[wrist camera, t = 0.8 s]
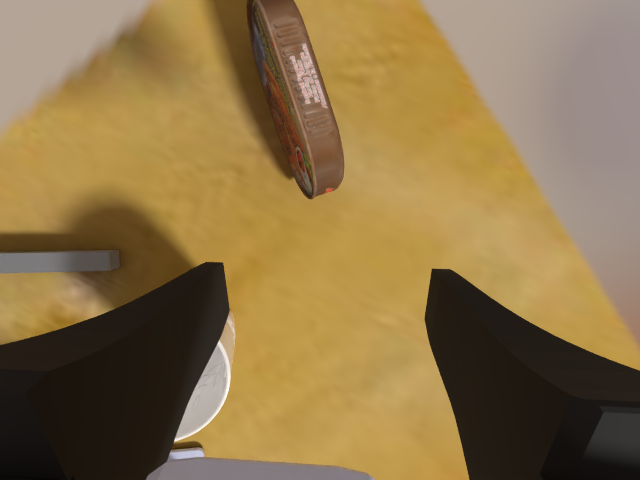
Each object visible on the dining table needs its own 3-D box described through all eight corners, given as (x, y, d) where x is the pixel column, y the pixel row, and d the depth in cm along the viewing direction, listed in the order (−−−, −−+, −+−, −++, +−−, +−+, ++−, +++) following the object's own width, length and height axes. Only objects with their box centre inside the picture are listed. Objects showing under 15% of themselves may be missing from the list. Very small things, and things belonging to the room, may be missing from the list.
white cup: (131, 348, 30) (62, 410, 20) (176, 267, 30) (132, 289, 20) (215, 387, 31) (190, 464, 21) (258, 309, 31) (253, 348, 21)
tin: (245, 36, 30) (237, -35, 22) (280, 27, 30) (285, -47, 22) (301, 203, 31) (313, 196, 23) (334, 193, 32) (357, 182, 23)
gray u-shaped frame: (125, 412, 30) (114, 426, 28) (-85, 429, 28) (-113, 445, 26) (119, 249, 29) (108, 251, 27) (-97, 253, 27) (-125, 255, 25)
